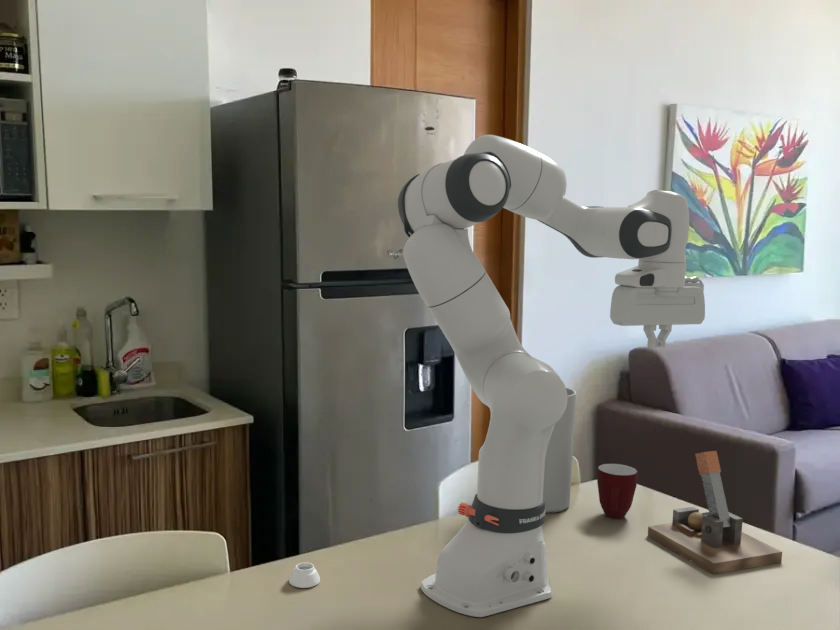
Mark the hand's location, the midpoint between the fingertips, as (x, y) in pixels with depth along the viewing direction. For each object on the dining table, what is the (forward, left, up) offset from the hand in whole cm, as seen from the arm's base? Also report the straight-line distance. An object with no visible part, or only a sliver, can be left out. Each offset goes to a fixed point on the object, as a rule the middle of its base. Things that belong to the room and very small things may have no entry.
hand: (656, 347), depth 156 cm
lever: (+2, -15, -32) cm, 36 cm away
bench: (+3, -13, -37) cm, 39 cm away
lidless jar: (-65, +23, -38) cm, 79 cm away
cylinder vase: (-4, +23, -37) cm, 44 cm away
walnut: (+5, -9, -35) cm, 36 cm away
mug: (+2, +8, -37) cm, 38 cm away
